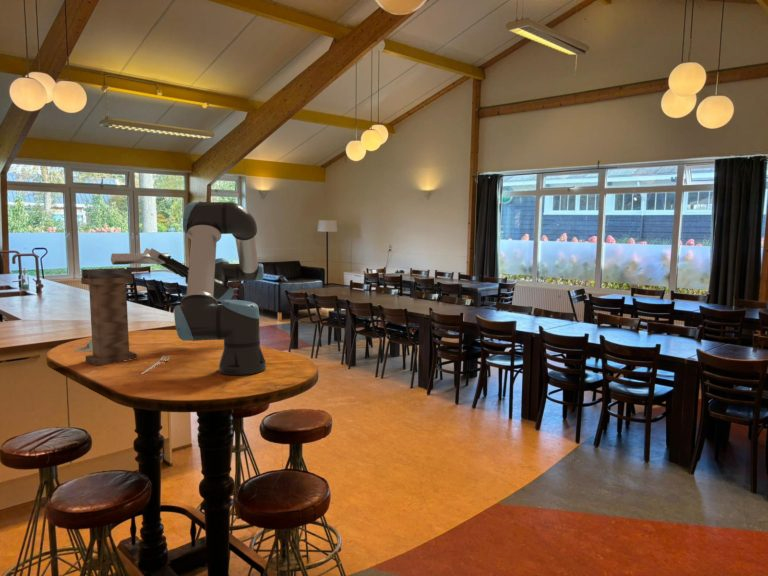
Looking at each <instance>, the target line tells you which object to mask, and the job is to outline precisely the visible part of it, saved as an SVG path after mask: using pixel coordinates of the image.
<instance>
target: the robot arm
mask: <svg viewBox="0 0 768 576" xmlns="http://www.w3.org/2000/svg"><path fill="white" fill-rule="evenodd" d="M182 218H183V221H182V228H183V231H184V233H185V235H186V236H187V237H188V238H189V239H190V251H189V264H188V266H187V265H185V264H183V263H181V262H180V261H178V260H176V259H174V258H172V256H171V255H170V256H168V258H167V256H165V255H163V254H161V253H162V252H160V251H157V250H156V249H154V248H150V249H149V248H145V249H144V252H143V253H149V254H148V255H150V256H151V257H153V258H155V259H157V260H159V261H160V262H162V263H164V262H165V263H166V264H156V265H157V266H159V265H160V266H161V267H163V268H165V269H167V270H169V271H171V272H172V273H174V274H175V275H178V276H179V277H181V278H185V284H186V285H187V286H186V295H185V296H183V297H182V298H181V301H180V304H178V305H175V306H174V309H173V311H174V312H173V315H174V325H175V330H176V334H177V337H178V338H179V340H181V341H183V342H184V341H187V342H188V341H189V342H190V341H191V342H195V341H196V342H198V341H201V342H202V341H223V351H222V355H221V357H220V360H219V365H218V369H219V371H218V372H219V373H220V374H223V375H227V376H247V375H254V374H258V373H261V372H263V371H265V370H266V369H267V365H266V364H267V363H266V359H265V357H264V353H263V351H262V348H261V334H260V333H261V332H260V331H261V330H260V319H261V317H260V310H259V309H260V308H259V306H258V304H257V303H255V302H253V301H249V300H240V299H232V298H233V296H234V292H235V291H234V289H233V288H232V287H231V286H230V285H229V282H240V281H241V282H256V281H262V280H264V274H265V273H264V264H262V263H258V260H259V259H258V251H257V250H258V249H257V241H256V235H257V234H258V226H257V222H256V220H255V218H254V215H252V213H251V212H250V211H249V210H248V209H246V208H245V207H244V206H242V205H241V204H238V203H236V202H233V201H199V200H198V201H191V202H189V203H187V204H186V206H185V208H184V212H183V217H182ZM228 234H229V235H230V234H231V235H232V236H233V238H234V239H235V243H236V250H237V256H238V261H239V263H230V262H229V261H228V260H227V259H224V258H222V257H221V258H219V257H218V258H216V257H217V255H216V254H217V242H219V241H220V240H221V238H222V235H228ZM218 302H220V303H221V304H219V303H218Z"/></svg>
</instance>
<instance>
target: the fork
mask: <svg viewBox="0 0 768 576" xmlns="http://www.w3.org/2000/svg"><path fill="white" fill-rule="evenodd" d="M160 360H163V361H164V360H165V361H166V360H168V361H169V360H170V355H162V356H161V358H160V359H159V361H160ZM159 361H157V362H155V363H154V364H153V365H151V366H149V367H148V368H147V369H146V370H144V371H142V372H141V373H140V374H141V375H143V374H145V373H147V372H149V371H150V369H151V370H153V369H154V368H156V367H157V366H156V365H158V364H159V365H161V364H160V363H163V362H159ZM159 365H158V366H159ZM155 366H156V367H155ZM153 367H154V368H153ZM152 368H153V369H152Z"/></svg>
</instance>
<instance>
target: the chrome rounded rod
mask: <svg viewBox="0 0 768 576" xmlns="http://www.w3.org/2000/svg"><path fill="white" fill-rule="evenodd" d="M160 253H161V254H163V255H165V256H167V258H168V256H171V255H170V254H169V252H160ZM148 254H149V253H144V252H143V253H138V252H137V253H136V252H135V253H111V256H110V262H111V264H112V265H113V266H115V265H117V266H118V265H119V266H120V265H157V264H159V265H160V264H166V263H165V262H164V263H162V262H160V261H159V260H157V259H155V258H153V257H151V256H150V255H148Z"/></svg>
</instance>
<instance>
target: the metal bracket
mask: <svg viewBox="0 0 768 576" xmlns="http://www.w3.org/2000/svg"><path fill="white" fill-rule="evenodd" d="M75 351H93V348H92V339H91V340H89V341H88V342H87V344H86V345H85V346H84V347H78V348H77V349H76V350H75ZM75 351H74V352H75Z"/></svg>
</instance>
